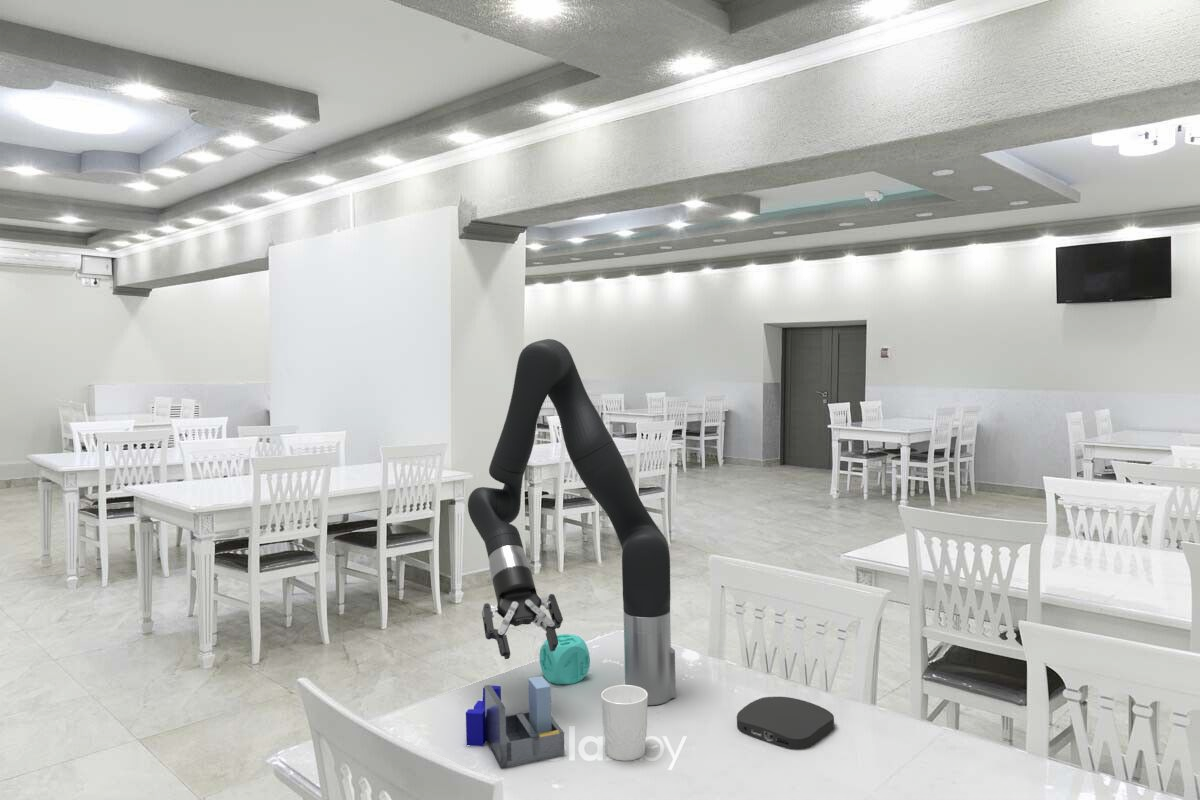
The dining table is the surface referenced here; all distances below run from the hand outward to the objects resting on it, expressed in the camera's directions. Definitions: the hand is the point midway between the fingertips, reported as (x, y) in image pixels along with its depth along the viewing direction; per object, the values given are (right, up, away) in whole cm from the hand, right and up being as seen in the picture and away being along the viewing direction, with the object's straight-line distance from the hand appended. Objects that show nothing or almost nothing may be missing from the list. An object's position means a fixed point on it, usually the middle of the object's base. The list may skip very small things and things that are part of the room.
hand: (531, 653), depth 144 cm
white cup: (+17, -15, -7) cm, 23 cm away
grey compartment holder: (-1, -15, -5) cm, 16 cm away
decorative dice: (+5, -14, +26) cm, 30 cm away
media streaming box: (+46, -14, +1) cm, 48 cm away
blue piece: (-9, -15, +2) cm, 18 cm away
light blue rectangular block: (+2, -14, -4) cm, 14 cm away
